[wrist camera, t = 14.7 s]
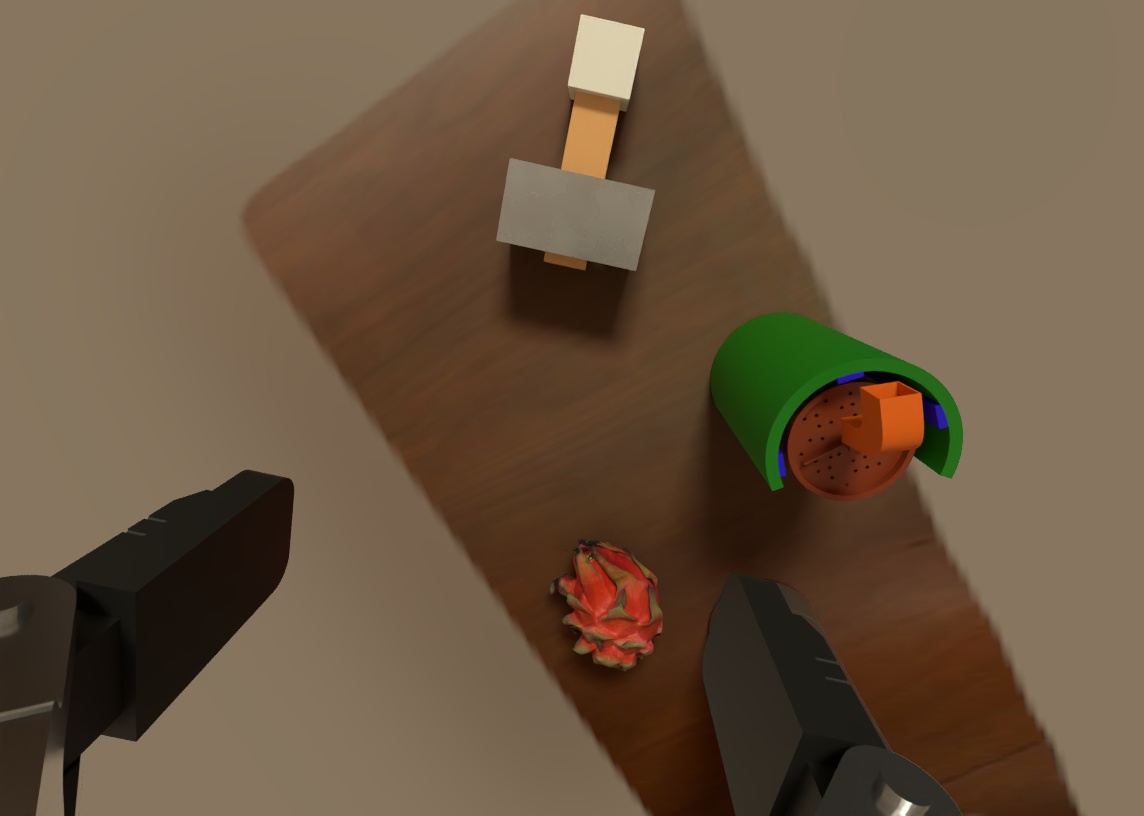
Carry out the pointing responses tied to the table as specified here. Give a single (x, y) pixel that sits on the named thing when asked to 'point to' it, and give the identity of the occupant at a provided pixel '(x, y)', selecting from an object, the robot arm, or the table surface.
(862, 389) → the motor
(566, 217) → the block
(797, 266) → the table surface
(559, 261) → the plug
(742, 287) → the table surface
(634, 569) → the dragon fruit
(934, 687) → the table surface
